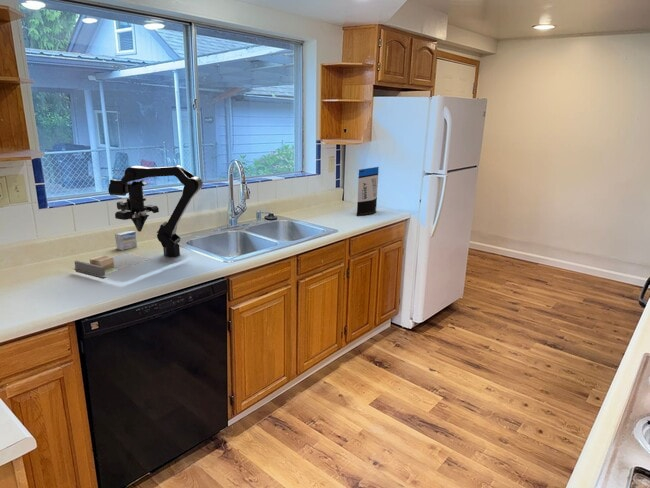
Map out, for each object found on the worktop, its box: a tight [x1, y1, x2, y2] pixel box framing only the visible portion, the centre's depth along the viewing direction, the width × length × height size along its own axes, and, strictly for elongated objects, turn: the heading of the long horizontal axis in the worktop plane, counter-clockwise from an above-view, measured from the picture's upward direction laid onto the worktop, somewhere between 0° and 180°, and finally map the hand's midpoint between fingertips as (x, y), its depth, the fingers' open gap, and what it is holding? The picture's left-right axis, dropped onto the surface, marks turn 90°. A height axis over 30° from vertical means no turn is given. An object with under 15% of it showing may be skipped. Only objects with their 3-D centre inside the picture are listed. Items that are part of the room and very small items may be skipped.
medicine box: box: [114, 230, 138, 251], centre depth 205 cm, size 8×4×9 cm, turn 148°
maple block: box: [89, 255, 115, 270], centre depth 178 cm, size 6×6×4 cm
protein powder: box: [356, 166, 380, 217], centre depth 292 cm, size 10×24×30 cm, turn 143°
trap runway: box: [73, 252, 152, 280], centre depth 184 cm, size 16×24×4 cm, turn 154°
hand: (139, 231), depth 193 cm, fingers closed
